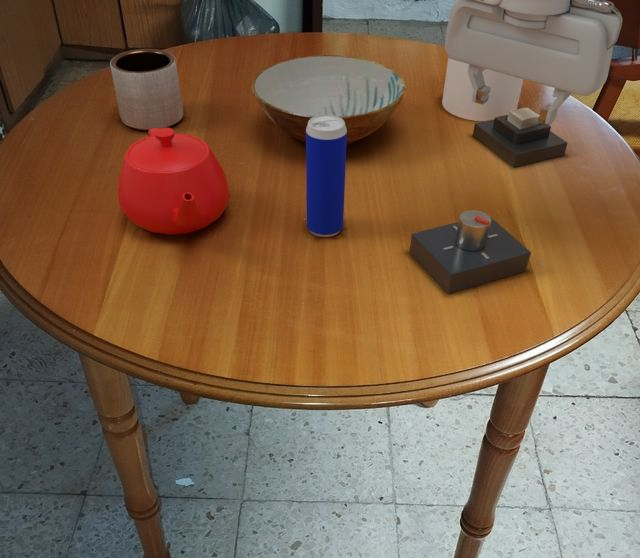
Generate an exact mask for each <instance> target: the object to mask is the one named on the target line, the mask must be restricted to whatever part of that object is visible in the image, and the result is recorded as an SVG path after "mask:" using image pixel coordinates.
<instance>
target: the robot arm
mask: <svg viewBox="0 0 640 558" xmlns="http://www.w3.org/2000/svg"><path fill="white" fill-rule="evenodd" d="M448 16H449V17H448V19H447V20H448V21H447V25H446V31H445V38H444V50H445V53H446V55H447V58H448V57H449V58H450V59H453V60H456V61H460V62H464V63H467V64H469V68H468V75H469V78H470V81H471V84H472V87H473V88H474V90H473V97H472V102H475V103H479V104H482V105H483V104H484V103H486V102H487V101H488V99H489V93H490V88H491V87H489V86H485V81H484V77H483V73H482V71H484V70H486V69H489V70H492V71H496V72H499V73H503V74H506V75H510V76H514V77H517V78H521V79H523V81H524V80H525V81H528V82H532V83H535V84H539V85H542V86H547V87H550V88H553V92H552V97H553V98H555V100H554V101H553V102H552V103H551V104H550V103H547V104H545V105H544V106H542V107H541V108H540V111H539V115H540V117H539V119H538V122H540V123H544V124H547V125H550V126H551V125H552V124H553V123H554V122H555V121H556V118H557V114H558V110H559V108H560V107H561V106H562V105H563V104H564V103H565V101H566V100H567V99H568V98H569V97H570V96H571V95H572V94H575V95H578V96H582V97H588V96H591V95H592V94H594V93H595V92H597V91H598V90H600V89H601V88H602V87H603V86H604V85H605V84H606V82H607V80H608V76H609V72H610V67H611V62H612V58H613V57H612V56H613V50H614V46H615V45H616V43H617V42H618V39H619V35H620V32H621V29H622V26H623V17H622V13H621V12H620V10H619V9H618V8H616V6H615V4H614V2H612V1H610V0H455V1H454V2H453V3H452V6H451V8H450V12H449V15H448Z"/></svg>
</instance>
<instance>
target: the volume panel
mask: <svg viewBox="0 0 640 558" xmlns="http://www.w3.org/2000/svg"><path fill="white" fill-rule="evenodd" d="M458 223H459V221H456V222H452V223H448V224H445V225H440V226H438V227H433V228H428V229H424V230H421V231H416V232H413V233H411V238H410V244H409V254H410V255H411V257H412V258H414V259H415V261H416V262H417V263H418V264H419V265H420V266H421V267H422V268H423V270H424V271H425V272H427V274H428V275H429V276H430V277H431V278H432V279H433V280H434V281H435V282H436V283H437V284H438V286H440V287H441V288H442V289H443V291H444V292H446V294H447V295H450V294H453V293H457V292H460V291H463V290H467V289H471V288H473V287H477V286H481V285H485V284H488V283H491V282H494V281H499V280H502V279H506V278H508V277H512V276H515V275H519V274H522V273H525V272H527V270H528V266H529V263H530V258H531V254H532V251H530V250H529V249H528V248H527V247H526V246H525V245H524V244H523V243H521V242H520V241H519V240H518V239H517V238H515V237H514V236H513V235H512V234H511V233H509V231H507V230H506V229H505V228H504V227H503V226H501V224H499V222H497V221H496V220H495V219H494V218H492V217H491V225H490V229H489V234H488V238H487V243H486V246H485V247H484V248H483V249H481V250H478V251H468V250H464V249H462V248H460V247H459V246H457V244H456V242H455V239H456V234H457V228H458Z"/></svg>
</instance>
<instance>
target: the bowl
mask: <svg viewBox="0 0 640 558" xmlns="http://www.w3.org/2000/svg"><path fill="white" fill-rule="evenodd" d="M250 85H251V87H250V88H251V91H252V95H254V97H255V99H256V101H257V103H258V105H259V106H260V108H261V109H262V111H263V113H264V114H265V115H266V116H267V118H268V119H269V120H270V121H271V122H272V123H273V125H275V126H276V127H278V129H280V130H281V131H282V132H284V133H285V134H286V135H289V136H291V137H292V138H294V139H297V140H298V141H300V142H302V143H304V144H306V128H307V125H308V122H309V120H310V119H311V118H313V117H315V116H318V115H334V116H337V117H340V118H341V119H343V120H344V122H345V125H346V129H347V141H346V146H347V145H350V144H353V143H355V142H357V141H359V140H361V139H363V138H366V137H368V136H369V135H371V134H372V133H374V132H376V131H377V130H378V129H379V128H380V127H382V126H383V125H384V124H385V123H386V122H387V121H388V120H389V118H390V117H391V116H392V115H393V114H394V113H395V111H396V110H397V108H398V107H399V105H400V104H401V102H402V100H403V98H404V96H405V94H406V91H407V84H406V81H405V80H404V78H403V77H402V75H400V73H398V72H397V71H396V70H394V69H392V68H391V67H389V66H387V65H384V64H382V63H380V62H377V61H373V60H371V59H370V60H369V59H366V58H362V57H361V58H360V57H356V56H350V55H348V56H347V55H338V54H337V55H336V54H317V55H305V56H298V57H294V58H289V59H284V60H282V61H278V62H275V63H273V64H270V65H269V66H266V67H264V68H263V69H261V70H260V71H259V72H257V73H256V75H255V76H254V77H253V79H252V80H251V84H250Z"/></svg>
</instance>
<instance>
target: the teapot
mask: <svg viewBox="0 0 640 558" xmlns="http://www.w3.org/2000/svg"><path fill="white" fill-rule="evenodd" d="M147 135H148V136H145V137H143V138H141V139H139V140H137V141H136V142H134V143H132V144H131V145H130V146H129V147H128V149H126V150H125V153H124V156H123V161H122V164H121V168H120V172H119V178H118V190H117V193H118V194H117V197H118V205H119V207H120V209H121V210H122V212H123V214H125V216H126V217H127V218H128V220H129V222H131V223H132V224H134V226H135V225H136V226H137V227H140V228H142V229H144V230H146V231H148V232H151V233H154V234H161V235H167V236H171V235H172V236H173V235H186V234H190V233H192V232H196V231H199V230H202V229H204V228H207V226H209V225H211V224H212V223H214V222H215V221H217V220H218V219H219V218H220V217H221V216H222V214H223V213H224V211H225V210H226V208H227V207H228V205H229V203H230V202H229V201H230V195H231V194H230V188H229V183H228V178H227V175H226V173H225V170H224V169H223V166H222V165H221V163H220V162H219V159H218V158H217V156H216V155H215V153H214V152H213V150H212V149H211V147H210V146H209V145H208V144H207V142H205V141H204V140H203V139H202V138H200V137H197V136H193V135H191V134H185V133H177V132H175V130H174V129H173V128H172V127H169V128H160V129H158V128H153V129H151V130H149V131H147Z"/></svg>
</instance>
